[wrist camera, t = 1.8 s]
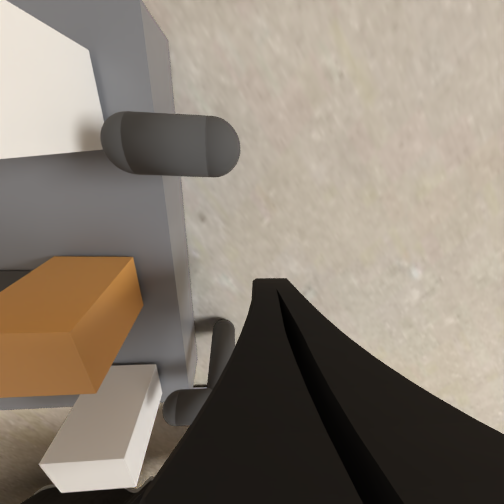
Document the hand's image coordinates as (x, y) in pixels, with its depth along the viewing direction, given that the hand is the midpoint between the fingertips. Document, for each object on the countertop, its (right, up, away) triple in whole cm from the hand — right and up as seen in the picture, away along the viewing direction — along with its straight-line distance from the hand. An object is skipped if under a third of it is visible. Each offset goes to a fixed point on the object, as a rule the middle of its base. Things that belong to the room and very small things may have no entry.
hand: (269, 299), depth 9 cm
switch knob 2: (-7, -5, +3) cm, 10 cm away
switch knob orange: (-7, +1, 0) cm, 7 cm away
